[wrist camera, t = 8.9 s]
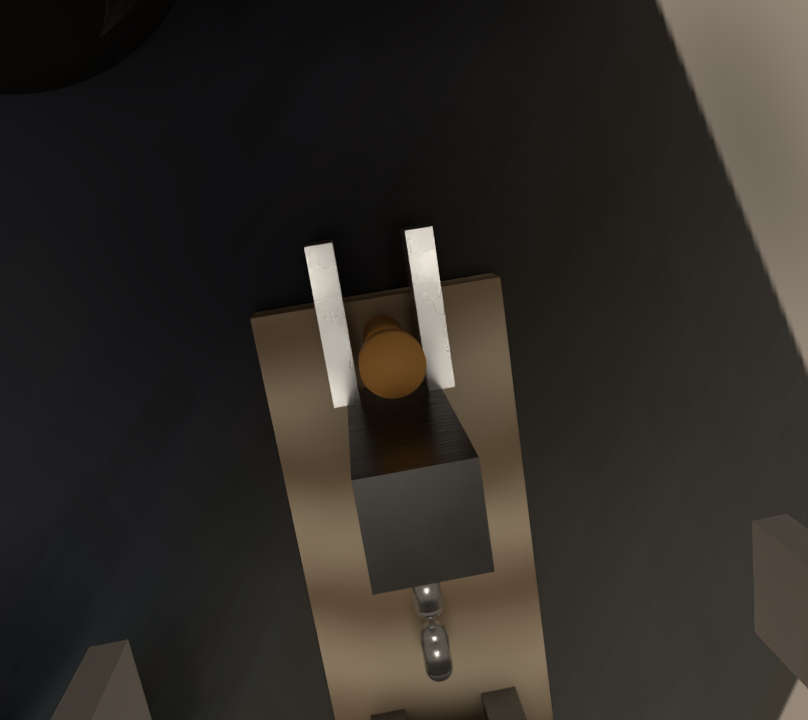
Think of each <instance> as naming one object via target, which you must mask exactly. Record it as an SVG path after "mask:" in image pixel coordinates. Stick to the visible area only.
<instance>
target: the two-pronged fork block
mask: <svg viewBox="0 0 808 720" xmlns="http://www.w3.org/2000/svg"><path fill="white" fill-rule="evenodd" d="M400 233H401V240H402V246H403V253H404V259H405V266H406V272H407V279H408V286H409V292H410V299H411V305H412V312H413V318H414V325H415V331H416V338H417V341H418V343H419V344H420V346H421V348H422V350H423V352H424V354H425V357H426V364H427V366H426V373H425V376H424V379H423V381H422V383H421V384H420V385H419V387H418V388H417V389H416V390H415V391H413V392H412V393H410V394H409V395H407V396H404V397H401V398H395V399H389V398H383V397H380V396H378V395H376V394H374V393H373V392H371V391H370V390H369V389H368V388H367V387H365V388H359V386H358V380H357V375H356V369H355V363H354V358H353V352H352V347H351V341H350V335H349V330H348V324H347V318H346V313H345V307H344V301H343V296H342V290H341V284H340V279H339V273H338V268H337V262H336V256H335V251H334V245H333V239H330V240H324V241H318V242H312V243H306V245H305V246H304V250H305V255H306V261H307V266H308V271H309V277H310V282H311V287H312V293H313V298H314V303H315V309H316V314H317V319H318V325H319V330H320V335H321V340H322V346H323V351H324V356H325V362H326V367H327V372H328V378H329V383H330V388H331V394H332V399H333V404H334V408H336V407H341V406H347V408H348V427H349V447H350V467H351V482H352V488H353V493H354V498H355V504H356V509H357V514H358V520H359V525H360V531H361V536H362V541H363V547H364V552H365V557H366V563H367V568H368V573H369V579H370V584H371V590H372V595H376V594H381V593H386V592H391V591H396V590H402V589H407V588H411V590H412V596H413V602H414V608H415V611H416V613H417V614H418V615H419V616H420V617H421V618H423V619H426V621H424V622H423V624H422V625H421V627H420V630H419V637H420V643H421V649H422V655H423V661H424V667H425V671H426V674H427V675H428V677H429V678H430V679H432V680H433V681H436V682H442V681H445V680H447V679H448V678H449V677H450V676H451V674H452V671H453V661H452V655H451V649H450V643H449V636H448V630H447V627H446V625H445V624H444V623H443V622H442V621H441V620H439V619H436V617H438V616H439V615H440V613H441V612H442V609H443V598H442V592H441V586H440V582H443V581H449V580H454V579H459V578H464V577H470V576H475V575H480V574H485V573H490V572H495V570H494V563H493V555H492V548H491V541H490V533H489V526H488V519H487V511H486V504H485V497H484V489H483V482H482V475H481V467H480V460H479V456H478V454H477V452H476V451H475V449H474V447H473V445H472V443H471V441H470V439H469V438H468V436H467V434H466V432H465V430H464V428H463V427H462V425H461V423H460V421H459V419H458V417H457V416H456V414H455V412H454V410H453V408H452V406H451V404H450V403H449V401H448V399H447V397H446V395H445V393H444V392H443V390H442V389H444V388H449V387H455V383H454V376H453V369H452V362H451V354H450V347H449V340H448V333H447V326H446V319H445V312H444V305H443V298H442V291H441V284H440V277H439V270H438V262H437V255H436V248H435V241H434V234H433V227H432V226H430V225H427V224H423V225H416V226H410V227H404V228H400Z"/></svg>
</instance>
